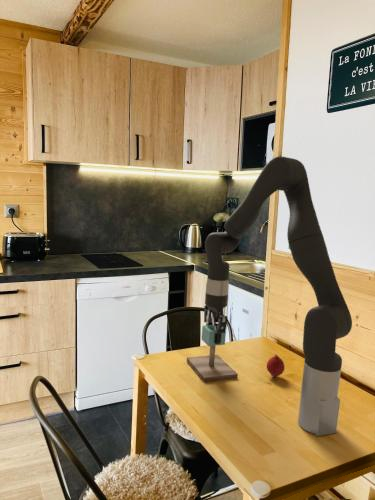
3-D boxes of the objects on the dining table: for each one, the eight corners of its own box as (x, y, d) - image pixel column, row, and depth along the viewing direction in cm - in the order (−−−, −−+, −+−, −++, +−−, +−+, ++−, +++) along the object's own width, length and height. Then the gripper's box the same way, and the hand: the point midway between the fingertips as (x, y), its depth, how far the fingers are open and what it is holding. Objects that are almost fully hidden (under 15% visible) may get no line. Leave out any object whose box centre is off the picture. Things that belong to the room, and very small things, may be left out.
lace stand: (237, 378, 134) (240, 345, 132) (204, 382, 129) (206, 348, 128) (217, 358, 148) (219, 328, 147) (186, 361, 144) (188, 330, 142)
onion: (282, 373, 139) (284, 351, 138) (284, 381, 133) (286, 358, 132) (265, 372, 139) (267, 350, 138) (266, 379, 134) (268, 356, 133)
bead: (224, 344, 136) (225, 330, 135) (208, 346, 134) (209, 331, 133) (217, 338, 141) (218, 324, 141) (201, 339, 139) (202, 325, 138)
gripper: (236, 297, 130) (232, 347, 132) (218, 286, 143) (214, 331, 145) (215, 298, 127) (211, 349, 129) (198, 286, 140) (195, 333, 143)
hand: (213, 339), depth 137 cm, fingers closed on bead, 6 cm apart
